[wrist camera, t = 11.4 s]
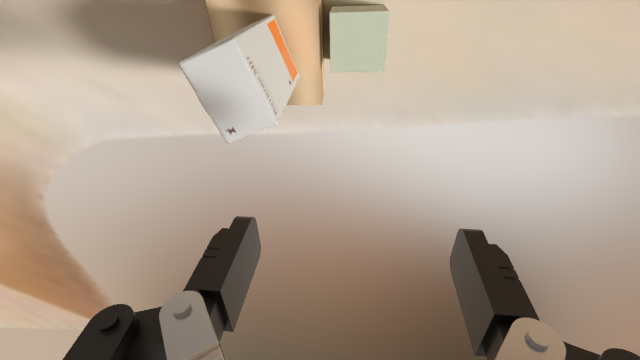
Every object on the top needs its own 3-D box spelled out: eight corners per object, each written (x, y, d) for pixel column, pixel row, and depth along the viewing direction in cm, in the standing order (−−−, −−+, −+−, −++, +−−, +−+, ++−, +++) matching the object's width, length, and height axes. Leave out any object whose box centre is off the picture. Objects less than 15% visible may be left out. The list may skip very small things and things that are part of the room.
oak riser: (321, -12, 30) (318, -9, 27) (324, 91, 36) (321, 104, 33) (219, -8, 31) (204, -5, 28) (238, 92, 37) (227, 105, 33)
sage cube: (383, 4, 31) (389, 10, 27) (380, 58, 33) (384, 71, 29) (332, 6, 31) (329, 12, 27) (332, 59, 34) (330, 72, 30)
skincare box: (302, 75, 31) (279, 127, 21) (264, 90, 32) (225, 147, 22) (274, 10, 28) (233, 36, 18) (233, 30, 29) (173, 63, 19)
